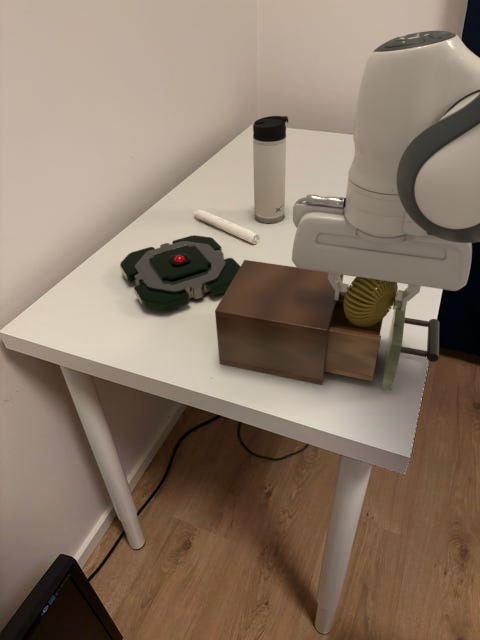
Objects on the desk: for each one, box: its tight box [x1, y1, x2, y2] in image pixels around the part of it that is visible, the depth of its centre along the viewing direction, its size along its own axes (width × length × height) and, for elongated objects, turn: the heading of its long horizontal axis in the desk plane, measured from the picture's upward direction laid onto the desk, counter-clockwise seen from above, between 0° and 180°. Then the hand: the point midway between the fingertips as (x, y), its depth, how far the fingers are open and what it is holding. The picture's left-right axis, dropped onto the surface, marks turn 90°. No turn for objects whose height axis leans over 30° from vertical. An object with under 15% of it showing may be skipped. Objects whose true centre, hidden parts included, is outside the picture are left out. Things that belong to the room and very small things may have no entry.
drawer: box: [324, 287, 440, 391], centre depth 65 cm, size 18×11×8 cm, turn 72°
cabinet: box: [214, 259, 345, 385], centre depth 68 cm, size 15×13×10 cm
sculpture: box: [343, 277, 399, 327], centre depth 61 cm, size 8×4×8 cm, turn 128°
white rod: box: [193, 208, 260, 245], centre depth 98 cm, size 18×2×2 cm, turn 46°
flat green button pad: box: [119, 234, 241, 311], centre depth 84 cm, size 18×18×5 cm
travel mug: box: [252, 115, 289, 224], centre depth 95 cm, size 6×7×20 cm
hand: (369, 303), depth 62 cm, fingers closed on sculpture, 6 cm apart
